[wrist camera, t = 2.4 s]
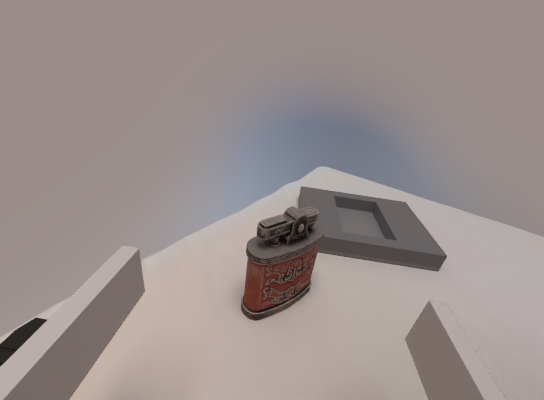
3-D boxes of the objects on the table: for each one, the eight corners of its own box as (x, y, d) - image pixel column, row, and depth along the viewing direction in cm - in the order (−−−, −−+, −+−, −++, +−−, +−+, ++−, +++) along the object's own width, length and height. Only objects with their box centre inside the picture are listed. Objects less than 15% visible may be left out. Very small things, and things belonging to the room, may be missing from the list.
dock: (400, 214, 44) (405, 202, 43) (438, 271, 32) (447, 256, 31) (298, 199, 45) (301, 186, 44) (297, 248, 33) (301, 233, 32)
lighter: (295, 270, 29) (312, 194, 24) (316, 291, 27) (339, 211, 22) (234, 300, 25) (240, 213, 20) (253, 328, 22) (265, 237, 18)
